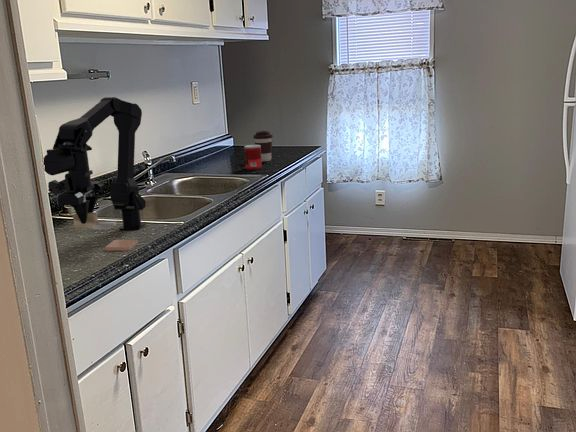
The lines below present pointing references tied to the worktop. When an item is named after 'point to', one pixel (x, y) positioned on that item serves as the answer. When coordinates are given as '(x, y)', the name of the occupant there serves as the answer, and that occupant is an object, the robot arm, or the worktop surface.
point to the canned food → (253, 157)
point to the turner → (92, 222)
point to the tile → (121, 245)
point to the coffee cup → (264, 144)
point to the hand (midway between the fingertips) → (85, 222)
